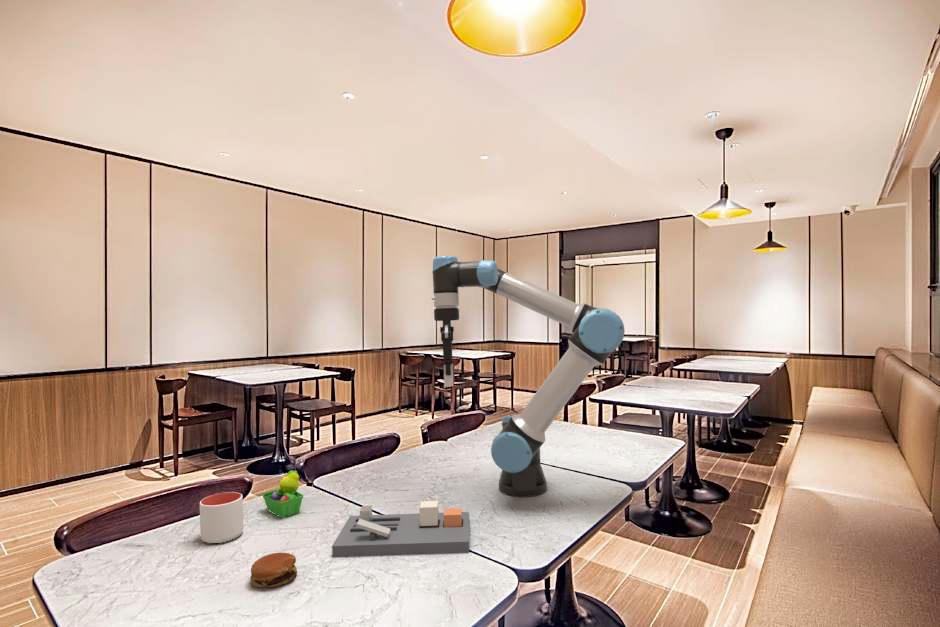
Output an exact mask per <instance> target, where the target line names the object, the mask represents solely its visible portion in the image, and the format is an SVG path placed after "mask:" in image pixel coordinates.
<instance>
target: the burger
mask: <svg viewBox="0 0 940 627" xmlns="http://www.w3.org/2000/svg"><path fill="white" fill-rule="evenodd" d="M296 558H297V557H296V556H295V555H293V554H292V553H289V552H273V553H269V554H267V555H263V556H262V557H260V558H258V559H257V560H256V561H254V562H253V563H252V565H251V568H250V574H251V575H250V584H251V586H252V587H255V588H276V587H278V586H282V585H284V584H288V583H289V582H291V581H292V580H293V579H294V578H295V577H296V576H297V574H298V570H297V566H296V565H295V564H296V563H297V559H296Z"/></svg>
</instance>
